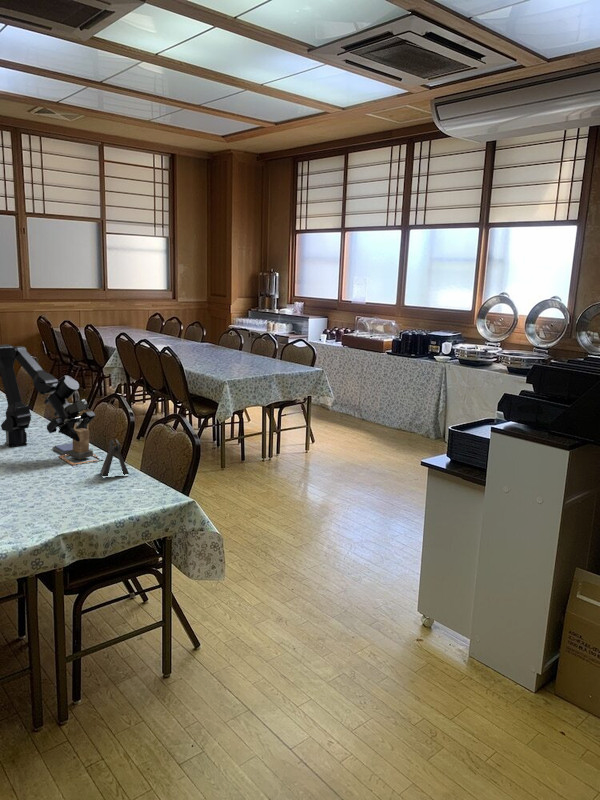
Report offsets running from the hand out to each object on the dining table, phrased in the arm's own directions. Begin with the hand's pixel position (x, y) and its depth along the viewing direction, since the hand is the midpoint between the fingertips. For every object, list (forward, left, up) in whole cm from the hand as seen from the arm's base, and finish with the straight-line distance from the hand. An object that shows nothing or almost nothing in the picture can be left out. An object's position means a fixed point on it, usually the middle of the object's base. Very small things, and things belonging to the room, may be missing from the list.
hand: (83, 439), depth 222 cm
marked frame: (0, +1, -7) cm, 8 cm away
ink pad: (+1, +14, -7) cm, 16 cm away
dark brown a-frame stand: (+1, -22, -8) cm, 24 cm away
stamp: (0, +2, -6) cm, 7 cm away
